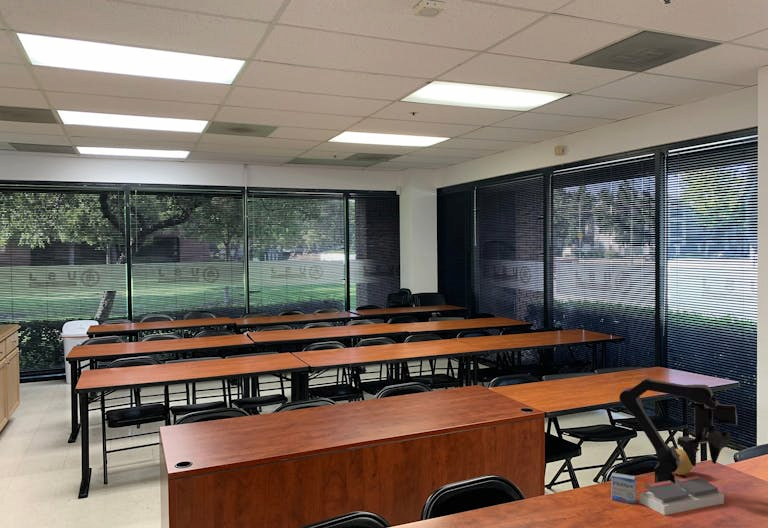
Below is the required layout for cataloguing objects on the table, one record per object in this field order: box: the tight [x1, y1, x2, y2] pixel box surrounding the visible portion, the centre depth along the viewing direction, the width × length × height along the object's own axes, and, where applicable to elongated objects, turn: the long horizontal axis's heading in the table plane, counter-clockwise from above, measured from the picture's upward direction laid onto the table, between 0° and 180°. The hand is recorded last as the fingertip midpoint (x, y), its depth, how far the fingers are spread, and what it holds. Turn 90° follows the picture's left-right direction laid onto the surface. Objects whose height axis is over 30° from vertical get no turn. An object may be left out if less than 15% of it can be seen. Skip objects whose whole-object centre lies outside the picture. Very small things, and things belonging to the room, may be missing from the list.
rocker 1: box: [644, 480, 689, 502], centre depth 192 cm, size 8×11×2 cm
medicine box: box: [610, 472, 637, 505], centre depth 197 cm, size 8×4×9 cm, turn 62°
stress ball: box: [672, 448, 694, 476], centre depth 222 cm, size 10×10×10 cm
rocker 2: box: [675, 475, 719, 496], centre depth 197 cm, size 8×11×2 cm
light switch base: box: [638, 486, 725, 516], centre depth 195 cm, size 11×27×4 cm, turn 110°
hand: (704, 464), depth 199 cm, fingers open, 9 cm apart
